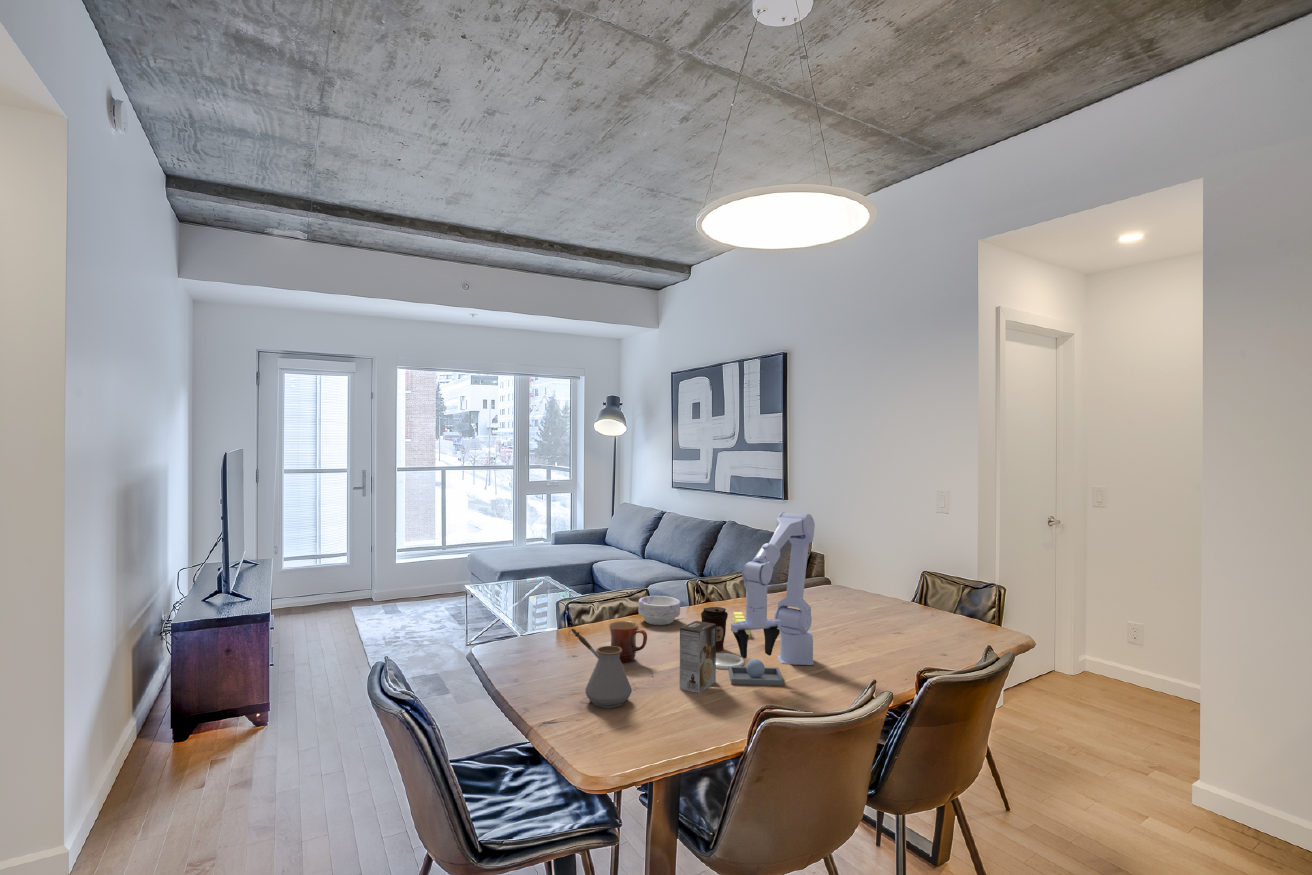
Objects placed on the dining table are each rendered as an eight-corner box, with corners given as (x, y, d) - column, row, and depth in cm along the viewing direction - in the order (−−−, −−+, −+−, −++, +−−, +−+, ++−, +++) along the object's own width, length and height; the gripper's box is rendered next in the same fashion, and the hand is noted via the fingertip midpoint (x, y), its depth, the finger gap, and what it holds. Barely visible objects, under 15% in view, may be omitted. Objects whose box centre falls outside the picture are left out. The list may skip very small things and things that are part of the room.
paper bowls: (681, 628, 228) (681, 605, 229) (637, 627, 228) (638, 604, 228) (678, 616, 244) (679, 595, 244) (638, 616, 243) (638, 594, 243)
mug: (602, 661, 191) (603, 626, 191) (616, 653, 199) (617, 619, 199) (639, 668, 186) (640, 632, 186) (652, 659, 194) (653, 624, 194)
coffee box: (695, 678, 178) (696, 619, 178) (716, 683, 175) (717, 623, 175) (678, 688, 170) (679, 627, 171) (700, 694, 167) (701, 631, 167)
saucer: (741, 657, 197) (741, 653, 197) (745, 670, 185) (745, 666, 185) (701, 656, 197) (701, 652, 197) (703, 669, 185) (703, 665, 185)
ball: (757, 674, 181) (758, 656, 182) (767, 680, 177) (768, 661, 177) (742, 675, 179) (743, 657, 179) (752, 681, 175) (753, 662, 175)
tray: (778, 674, 183) (778, 667, 183) (784, 687, 173) (784, 680, 173) (728, 672, 183) (728, 666, 183) (731, 685, 173) (731, 678, 173)
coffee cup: (725, 655, 198) (726, 613, 198) (698, 653, 200) (699, 611, 200) (728, 647, 207) (729, 606, 207) (702, 645, 208) (703, 604, 209)
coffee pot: (641, 702, 161) (642, 641, 161) (605, 715, 153) (606, 651, 153) (587, 679, 176) (588, 623, 176) (552, 690, 168) (553, 631, 168)
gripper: (772, 600, 185) (771, 648, 184) (726, 604, 180) (725, 653, 179) (785, 606, 178) (784, 656, 178) (738, 610, 173) (737, 662, 173)
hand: (756, 655), depth 178 cm, fingers open, 7 cm apart
